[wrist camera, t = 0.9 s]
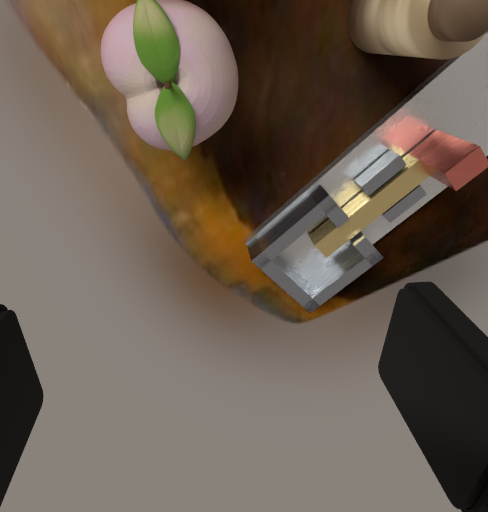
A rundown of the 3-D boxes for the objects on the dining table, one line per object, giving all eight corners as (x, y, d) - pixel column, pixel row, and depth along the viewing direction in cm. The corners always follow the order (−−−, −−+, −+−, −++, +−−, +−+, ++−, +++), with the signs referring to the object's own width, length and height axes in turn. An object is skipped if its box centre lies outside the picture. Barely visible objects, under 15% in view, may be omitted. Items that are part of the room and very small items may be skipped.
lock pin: (436, 129, 33) (480, 146, 28) (446, 146, 34) (490, 165, 29) (308, 235, 37) (326, 266, 32) (320, 248, 38) (339, 280, 33)
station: (499, 15, 30) (538, 12, 27) (538, 107, 34) (577, 115, 31) (244, 238, 38) (249, 259, 34) (302, 291, 42) (311, 314, 38)
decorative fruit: (246, 110, 31) (266, 138, 23) (157, 145, 32) (143, 185, 23) (204, -21, 27) (209, -48, 18) (99, 23, 27) (56, 18, 19)
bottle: (389, -41, 27) (499, -85, 17) (421, 19, 30) (535, 9, 20) (334, 14, 29) (408, 1, 19) (369, 67, 31) (451, 81, 21)
